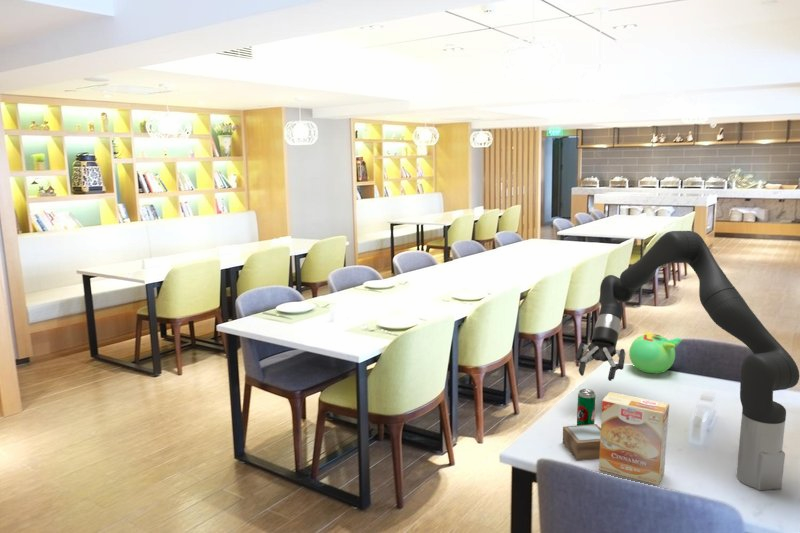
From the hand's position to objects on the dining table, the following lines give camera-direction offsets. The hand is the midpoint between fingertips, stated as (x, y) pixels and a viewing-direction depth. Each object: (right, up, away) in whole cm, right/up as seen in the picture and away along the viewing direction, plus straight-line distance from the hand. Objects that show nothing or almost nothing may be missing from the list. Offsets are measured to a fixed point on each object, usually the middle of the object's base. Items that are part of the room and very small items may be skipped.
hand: (595, 377), depth 187 cm
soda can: (-5, -15, -5) cm, 16 cm away
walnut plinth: (-8, -17, -17) cm, 25 cm away
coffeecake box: (0, -20, -29) cm, 35 cm away
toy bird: (+35, -6, +41) cm, 54 cm away
